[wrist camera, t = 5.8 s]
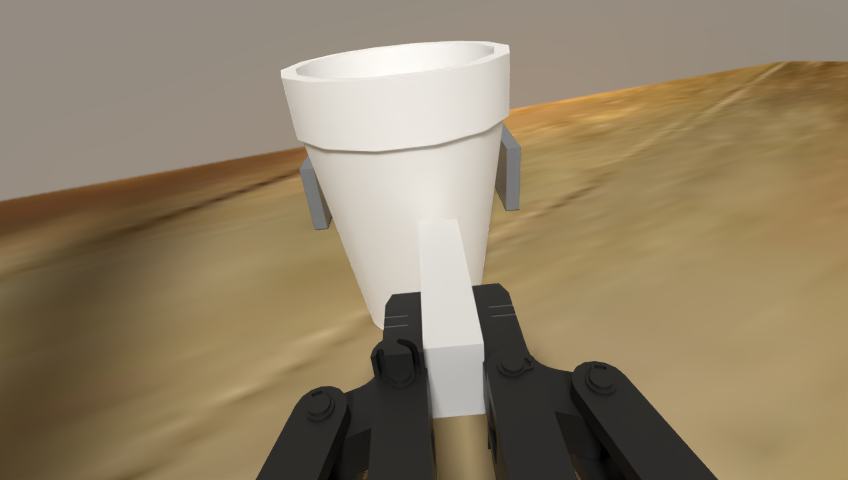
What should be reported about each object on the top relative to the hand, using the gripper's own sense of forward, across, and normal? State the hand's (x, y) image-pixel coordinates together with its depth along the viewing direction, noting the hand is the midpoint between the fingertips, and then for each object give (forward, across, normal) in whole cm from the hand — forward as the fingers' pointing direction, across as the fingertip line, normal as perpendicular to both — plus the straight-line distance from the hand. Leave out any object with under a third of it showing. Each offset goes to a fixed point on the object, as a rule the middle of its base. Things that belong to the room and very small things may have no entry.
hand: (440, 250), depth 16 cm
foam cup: (+5, -1, -7) cm, 8 cm away
